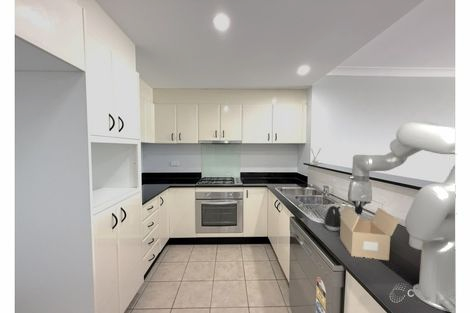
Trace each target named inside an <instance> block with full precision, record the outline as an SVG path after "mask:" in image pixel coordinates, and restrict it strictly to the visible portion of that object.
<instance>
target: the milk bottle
mask: <svg viewBox="0 0 470 313" xmlns="http://www.w3.org/2000/svg"><path fill="white" fill-rule="evenodd" d="M408 244H409V246H410V247H411V248H412V249H416V250H419V251H422V244H423V241H422V240H418V239H416V238H414V237H412V236H411V235H410V234H409V239H408Z"/></svg>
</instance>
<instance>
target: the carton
mask: <svg viewBox="0 0 470 313" xmlns="http://www.w3.org/2000/svg"><path fill="white" fill-rule="evenodd" d="M339 232H340V233H339V239H340V240H341V242H342V244H343V245H344V247H345V249H346V250H347V252H348V253H349V255H350V254H351V255H350V256H351V257H354V256H355V257H356V258H363V257H365V259H372V258H374V260H382V261H389V260H390V247H391V235H389V234H388V233H387V232H386V231H384V230H383V229H382V228H381V227H380V226H378V225H377V224H376V223H375V222H373V221H372V220H369V219H359V220H358V222H357V224H356V226H355V228H354V230H353V232H352V231H351V230H350V229H349V228H348V227H347V225H346V224H345V223H344V222H343V221H342V219H341V226H340V230H339Z"/></svg>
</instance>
